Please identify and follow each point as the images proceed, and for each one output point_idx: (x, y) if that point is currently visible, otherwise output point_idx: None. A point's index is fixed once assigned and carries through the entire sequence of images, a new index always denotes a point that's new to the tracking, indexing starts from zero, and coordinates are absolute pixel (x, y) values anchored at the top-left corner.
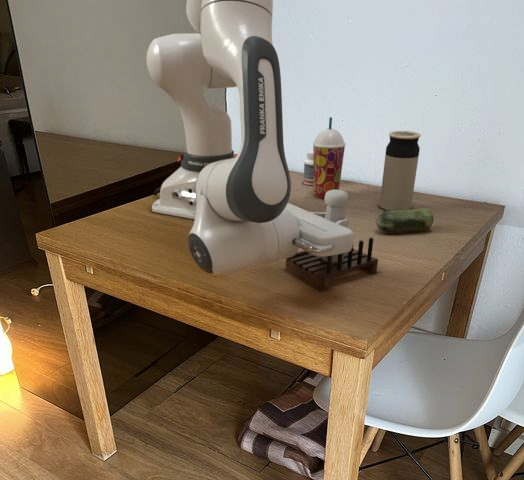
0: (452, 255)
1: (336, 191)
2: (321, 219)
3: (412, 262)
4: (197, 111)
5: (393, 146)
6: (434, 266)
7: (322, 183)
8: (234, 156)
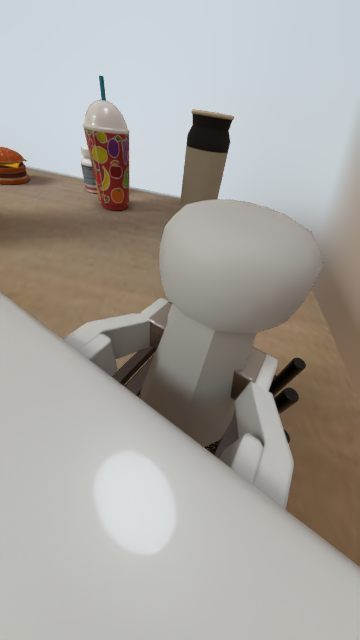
0: (316, 301)
1: (248, 216)
2: (194, 519)
3: (289, 332)
4: None
5: (201, 131)
6: (323, 337)
7: (108, 189)
8: None
